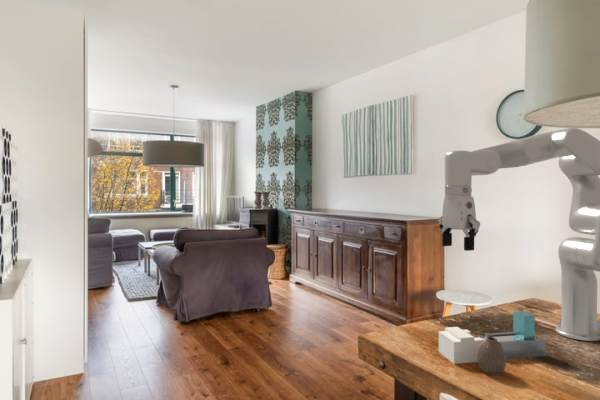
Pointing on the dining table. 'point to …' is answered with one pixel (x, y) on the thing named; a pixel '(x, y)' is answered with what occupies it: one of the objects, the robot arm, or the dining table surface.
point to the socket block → (459, 345)
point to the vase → (491, 357)
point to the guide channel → (521, 346)
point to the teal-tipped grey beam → (520, 327)
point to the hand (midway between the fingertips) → (457, 248)
